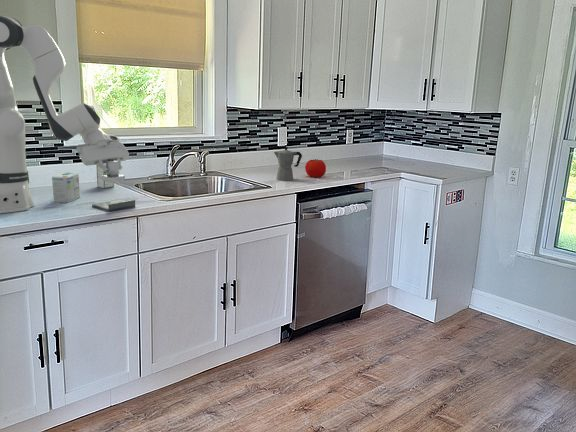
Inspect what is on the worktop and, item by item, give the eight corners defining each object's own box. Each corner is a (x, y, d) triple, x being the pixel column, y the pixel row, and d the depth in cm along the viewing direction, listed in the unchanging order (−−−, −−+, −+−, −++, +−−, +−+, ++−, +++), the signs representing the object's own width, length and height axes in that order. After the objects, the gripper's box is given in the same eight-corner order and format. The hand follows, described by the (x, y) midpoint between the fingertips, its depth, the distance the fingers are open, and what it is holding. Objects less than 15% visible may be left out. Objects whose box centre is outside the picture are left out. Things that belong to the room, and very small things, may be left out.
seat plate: (110, 211, 210) (110, 204, 209) (92, 206, 217) (91, 199, 216) (135, 206, 219) (135, 199, 219) (117, 202, 226) (116, 195, 225)
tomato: (324, 175, 309) (325, 157, 307) (326, 179, 298) (327, 160, 296) (304, 174, 309) (304, 157, 306) (305, 178, 298) (306, 160, 295)
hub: (111, 182, 211) (110, 162, 209) (101, 180, 215) (100, 160, 212) (125, 180, 216) (124, 160, 214) (115, 178, 220) (114, 158, 217)
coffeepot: (272, 180, 288) (273, 147, 284) (273, 177, 297) (274, 145, 293) (300, 181, 287) (302, 148, 283) (301, 178, 296) (302, 146, 292)
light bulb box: (65, 196, 232) (64, 172, 230) (80, 197, 232) (79, 173, 229) (53, 201, 222) (51, 176, 219) (68, 202, 221) (66, 177, 219)
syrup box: (107, 185, 258) (106, 155, 255) (114, 187, 255) (113, 157, 251) (97, 186, 254) (95, 156, 250) (104, 188, 250) (102, 158, 247)
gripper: (77, 140, 207) (93, 168, 204) (121, 136, 223) (137, 162, 220) (71, 150, 211) (87, 178, 208) (115, 145, 227) (131, 171, 224)
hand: (113, 170), depth 214 cm, fingers closed on hub, 5 cm apart
